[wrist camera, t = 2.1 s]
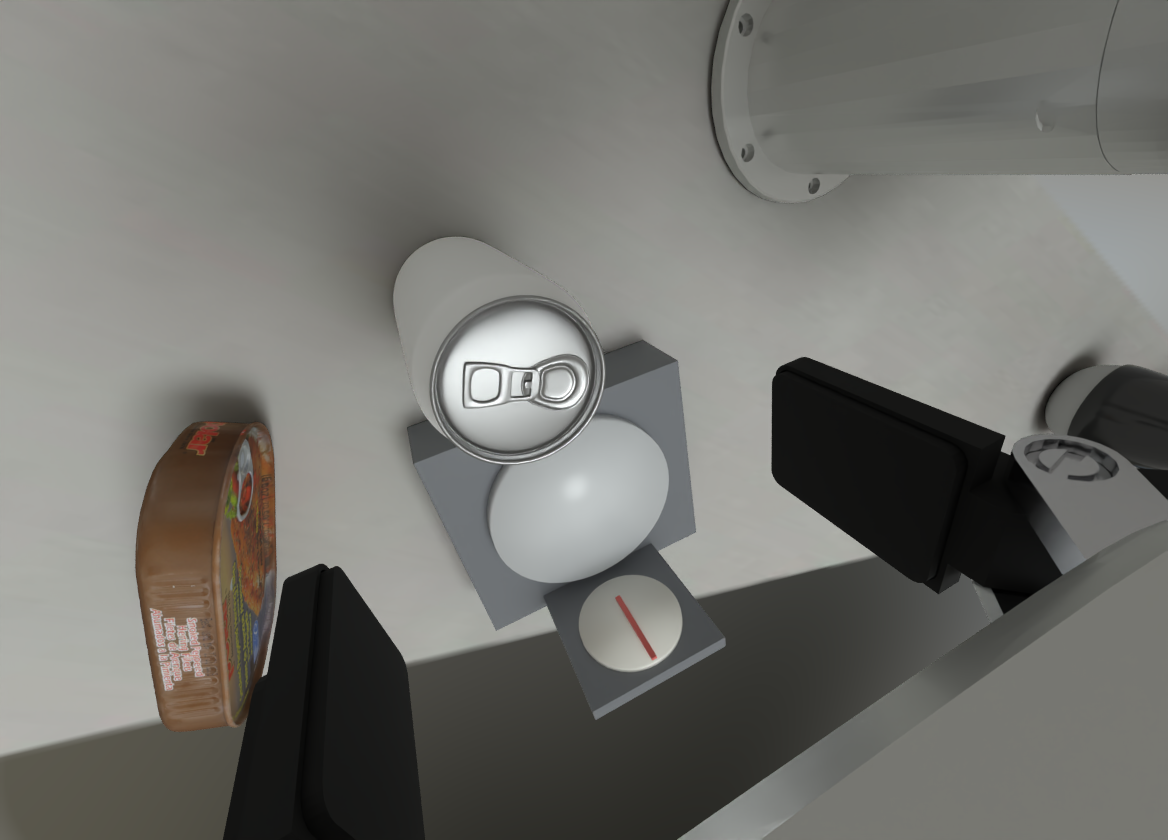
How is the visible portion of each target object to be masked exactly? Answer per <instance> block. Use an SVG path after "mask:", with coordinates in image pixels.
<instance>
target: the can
mask: <svg viewBox="0 0 1168 840" xmlns="http://www.w3.org/2000/svg"><path fill="white" fill-rule="evenodd" d="M393 305H394V313H395V318H396V323H397V327H398V332H399V336H400V341H401V345H402V350H403V354H404V358H405V362H406V367H407V371H408V375H409V379H410V382H411V386H412V389H413V392H414V395H415V398H416V400H417V402H418V404H419V406H420V408H421V410H422V412H423V413H424V415H425V416H426V418H427V419H428V420H429V422H430V423H431V424H432V425H433V426H434V427H435V428H436V429H437V430H438V431H439V432H440V433H441V434H442V435H444V436H445V437H446V438H448V439H449V440H450V441H451V442H452V443H453V444H454V445H455V446H456V447H457V448H459V449H460V450H461V451H463V452H464V453H466V454H468V455H470V456H472V457H474V458H476V459H478V460H481V461H484V462H488V463H492V464H499V465H520V464H526V463H531V462H535V461H538V460H541V459H544V458H546V457H549V456H551V455H553V454H555V453H556V452H558V451H560V450H561V449H563V448H564V447H566V446H567V445H569V444H570V443H571V442H572V441H573V440H575V439H576V438H577V437H578V436H579V435H580V434H581V433H582V431H583V430H584V429H585V428H586V427H587V425H588V424H589V422H590V421H591V419H592V418H593V416H594V414H595V413H596V411H597V409H598V406H599V404H600V401H601V398H602V395H603V391H604V386H605V378H606V366H605V358H604V353H603V350H602V346H601V344H600V341H599V339H598V337H597V335H596V333H595V332H594V330H593V327H592V325H591V322H590V320H589V318H588V316H587V314H586V313H585V311H584V310H583V308H582V307H581V306H580V304H579V303H578V302H577V301H576V300H575V299H574V298H573V297H572V296H571V295H570V294H569V293H568V292H567V291H566V290H565V289H563V288H562V287H561V286H559V285H558V284H556V283H555V282H553V281H552V280H550V279H548V278H547V277H545V276H543V275H542V274H540V273H538V272H537V271H535V270H533V269H531V268H530V267H528V266H526V265H524V264H523V263H521V262H519V261H517V260H515V259H514V258H512V257H510V256H508V255H506V254H505V253H503V252H501V251H499V250H497V249H496V248H494V247H492V246H490V245H488V244H486V243H483V242H481V241H478V240H475V239H472V238H467V237H445V238H440V239H436V240H434V241H431V242H429V243H427V244H425V245H423V246H421V247H420V248H419V249H417V250H416V251H415V252H414V253H412V254H411V255H410V257H409V258H408V259H407V260H406V261H405V263H404V264H403V266H402V267H401V269H400V271H399V273H398V276H397V278H396V282H395V286H394V293H393Z"/></svg>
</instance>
